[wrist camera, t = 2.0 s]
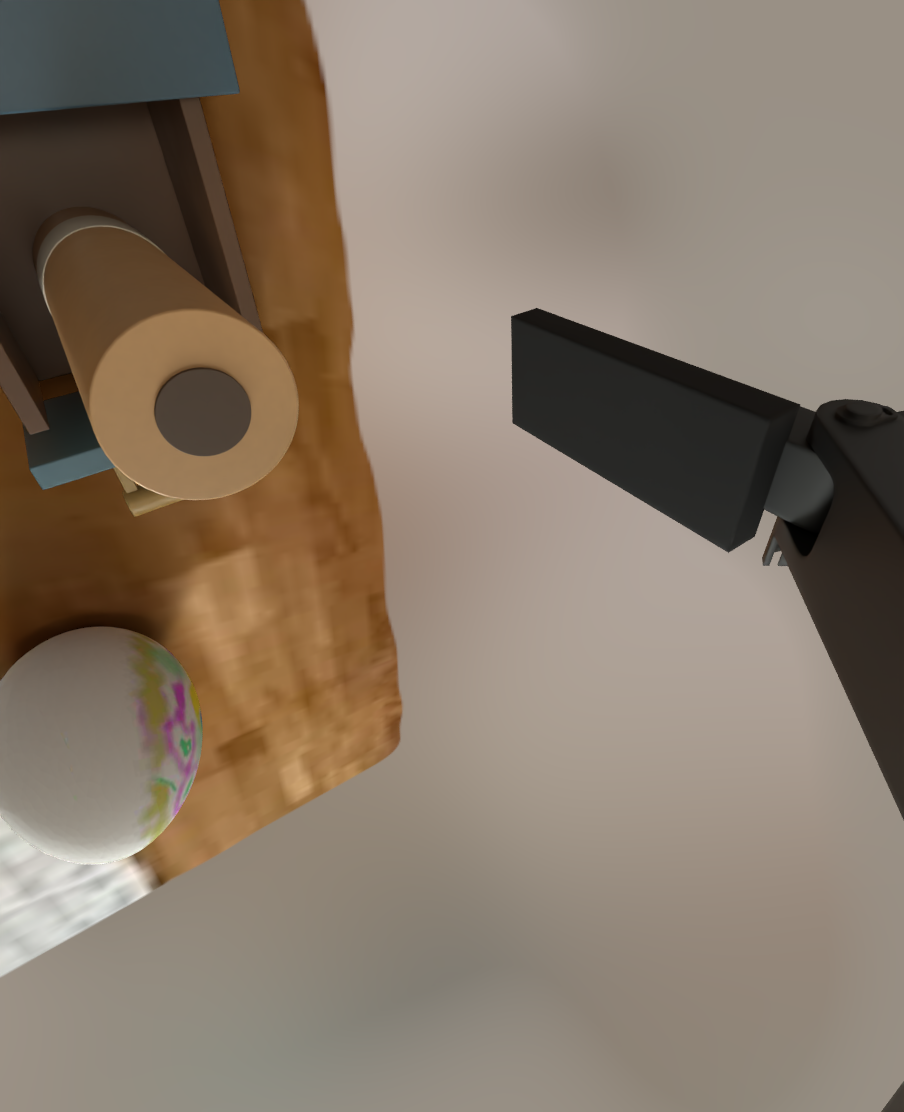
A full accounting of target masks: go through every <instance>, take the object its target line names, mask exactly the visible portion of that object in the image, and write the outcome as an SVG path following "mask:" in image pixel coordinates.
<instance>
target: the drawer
mask: <svg viewBox="0 0 904 1112" xmlns="http://www.w3.org/2000/svg"><path fill="white" fill-rule="evenodd" d="M71 207H91V208H96V209H100V210H103V211H106V212H108V213H111V214H113V215H115V216H116V217H118V218H120V219H122V220H123V221H124V222H126V223H127V224H128V225H130V226H131V227H132V228H134V229H136V230H137V231H138V232H140V233H141V234H143V235H144V236H145V237H146V238H148V239H149V240H150V241H151V242H153V243H154V244H155V245H156V246H157V247H159V248H160V249H161V250H162V251H163V252H164V253H165V254H166V255H167V256H168V257H169V258H171V259H172V260H173V261H174V262H175V263H177V264H178V265H179V266H180V267H182V268H183V269H184V270H185V271H187V272H188V273H189V274H190V275H192V276H193V277H194V278H195V279H197V280H198V281H199V282H200V283H201V284H203V285H204V286H205V287H206V288H208V289H209V290H210V291H211V292H213V293H214V294H215V295H216V296H218V297H219V298H220V299H221V300H223V301H224V302H225V303H226V304H228V305H229V306H230V307H231V308H232V309H234V310H235V311H236V312H237V313H239V314H240V315H241V316H242V317H244V318H245V319H246V320H247V321H249V322H250V323H251V324H252V325H254V326H255V327H256V328H257V329H258V330H260V331H261V332H262V333H263V331H262V327H261V323H260V320H259V316H258V312H257V309H256V305H255V301H254V297H253V294H252V290H251V286H250V283H249V279H248V275H247V272H246V268H245V264H244V261H243V257H242V253H241V250H240V246H239V242H238V239H237V235H236V231H235V228H234V224H233V220H232V217H231V213H230V209H229V205H228V202H227V198H226V194H225V191H224V187H223V183H222V180H221V176H220V172H219V169H218V165H217V161H216V158H215V154H214V150H213V147H212V143H211V139H210V136H209V132H208V128H207V125H206V121H205V117H204V114H203V110H202V106H201V102H200V99H199V97H195V98H184V99H173V100H162V101H150V102H139V103H128V104H117V105H105V106H94V107H83V108H72V109H61V110H49V111H38V112H27V113H16V114H4V115H0V386H1V388H2V389H3V391H4V393H5V394H6V396H7V398H8V399H9V401H10V403H11V404H12V406H13V408H14V409H15V411H16V413H17V414H18V416H19V417H20V419H21V421H22V423H23V429H24V436H25V443H26V449H27V456H28V463H29V469H30V471H31V473H32V474H33V476H34V477H35V479H36V480H37V482H38V484H39V485H40V487H41V488H42V489H43V490H45V489H48V488H51V487H55V486H58V485H61V484H64V483H67V482H70V481H73V480H77V479H80V478H83V477H86V476H89V475H92V474H96V473H99V472H102V471H105V470H108V469H111V468H114V470H115V472H116V474H117V476H118V478H119V480H120V482H121V484H122V486H123V488H124V491H122V494H123V497H124V499H125V501H126V503H127V505H128V507H129V509H130V511H131V513H132V514H133V516H134V517H136V516H139V515H142V514H144V513H147V512H150V511H153V510H156V509H159V508H161V507H164V506H167V505H170V504H173V503H176V502H178V501H181V500H184V499H178V498H172V497H168V496H165V495H161V494H158V493H155V492H153V491H151V490H148V489H146V488H144V487H142V486H140V485H139V486H136V484H135V482H134V481H132V480H131V479H129V478H128V477H127V476H125V475H124V474H123V473H122V472H121V471H120V470H119V469H118V468H117V467H115V466H114V465H113V463H112V462H111V461H110V460H109V458H108V457H107V456H106V455H105V453H104V451H103V450H102V448H101V446H100V445H99V443H98V441H97V438H96V436H95V434H94V431H93V429H92V426H91V423H90V420H89V418H88V415H87V412H86V409H85V406H84V404H83V401H82V398H81V395H80V393H79V391H78V392H75V393H71V394H67V395H63V396H59V397H56V398H52V399H48V400H44V401H43V397H42V393H41V388H40V384H39V381H42V380H46V379H50V378H54V377H58V376H62V375H66V374H70V373H72V370H71V367H70V365H69V362H68V359H67V356H66V354H65V351H64V348H63V345H62V342H61V340H60V337H59V334H58V331H57V329H56V326H55V323H54V320H53V317H52V315H51V313H50V312H49V309H48V307H47V305H46V302H45V299H44V296H43V294H42V291H41V288H40V284H39V281H38V276H37V273H36V270H35V266H34V262H33V243H34V239H35V236H36V233H37V231H38V229H39V228H40V226H41V225H42V223H43V222H44V221H45V220H46V219H47V218H48V217H50V216H51V215H52V214H54V213H56V212H58V211H60V210H63V209H66V208H71Z"/></svg>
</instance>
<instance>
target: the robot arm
mask: <svg viewBox="0 0 904 1112" xmlns="http://www.w3.org/2000/svg"><path fill="white" fill-rule="evenodd" d="M511 329H512V407H513V408H512V414H513V424H515V425H517V426H518V427H520V428H522V429H523V430H525V431H527V432H529V433H530V434H532V435H533V436H536V437H537V438H538V439H540V440H542V441H543V442H545V443H547V444H548V445H550V446H552V447H554V448H555V449H557V450H558V451H560V452H562V453H563V454H565V455H567V456H568V457H570V458H572V459H573V460H575V461H577V462H578V463H580V464H582V465H584V466H585V467H587V468H588V469H590V470H592V471H593V472H595V473H597V474H599V475H600V476H602V477H603V478H605V479H607V480H608V481H610V482H612V483H613V484H615V485H617V486H618V487H620V488H622V489H623V490H625V491H627V492H629V493H630V494H632V495H633V496H635V497H637V498H639V499H640V500H642V501H644V502H645V503H647V504H648V505H650V506H652V507H653V508H655V509H657V510H658V511H660V512H662V513H664V514H665V515H667V516H669V517H670V518H672V519H673V520H675V521H677V522H678V523H680V524H682V525H684V526H685V527H687V528H689V529H690V530H692V531H693V532H695V533H697V534H698V535H700V536H702V537H703V538H705V539H707V540H709V541H710V542H712V543H713V544H715V545H717V546H718V547H720V548H722V549H723V550H725V551H727V552H730V551H732V550H733V549H735V548H737V547H738V546H740V545H742V544H743V543H745V542H746V541H748V540H750V539H751V538H753V537H754V536H755V534H756V531H757V528H758V526H759V523H760V520H761V517H762V513H763V511H764V510H766V511H768V512H770V513H772V514H774V515H776V516H777V519H776V522H775V525H774V528H773V530H772V533H771V536H770V538H769V541H768V544H767V546H766V549H765V552H764V554H763V557H762V560H763V565H764V566H765V565H766V566H769V564H770V562H771V559H772V557H773V554H774V552H778V551H782V555H781V557H780V560H779V562H778V566H788V567H789V569H790V571H791V573H792V575H793V578H794V580H795V582H796V584H797V587H798V589H799V591H800V593H801V595H802V597H803V600H804V602H805V604H806V606H807V609H808V611H809V613H810V615H811V617H812V620H813V622H814V624H815V626H816V628H817V631H818V633H819V635H820V637H821V639H822V642H823V644H824V646H825V648H826V650H827V652H828V655H829V657H830V659H831V661H832V663H833V666H834V668H835V670H836V672H837V674H838V677H839V679H840V681H841V683H842V685H843V687H844V690H845V692H846V694H847V696H848V699H849V701H850V703H851V705H852V707H853V710H854V712H855V714H856V716H857V718H858V721H859V723H860V725H861V727H862V729H863V731H864V734H865V736H866V738H867V740H868V742H869V745H870V747H871V749H872V751H873V754H874V756H875V758H876V760H877V762H878V765H879V767H880V769H881V771H882V773H883V776H884V778H885V780H886V782H887V784H888V786H889V789H890V791H891V793H892V795H893V798H894V800H895V802H896V804H897V806H898V808H899V811H900V813H901V815H902V817H903V819H904V411H900V412H896V411H894V410H893V409H892V408H890V407H888V406H883V405H880V404H877V403H871V402H867V401H863V400H848V399H844V400H835V401H829V402H827V403H824V404H822V405H821V406H820V407H819V408H818V409H817V411H816V412H814V411H811V410H809V409H806V408H803V407H800V404H797V403H794V402H792V401H789V400H786V399H783V398H780V397H778V396H775V395H773V394H770V393H767V392H764V391H762V390H759V389H756V388H754V387H751V386H748V385H745V384H742V383H740V382H737V381H734V380H732V379H729V378H726V377H724V376H721V375H718V374H715V373H712V372H710V371H707V370H704V369H702V368H699V367H696V366H694V365H690V364H688V363H685V362H683V361H680V360H677V359H674V358H672V357H669V356H666V355H664V354H661V353H658V352H655V351H653V350H650V349H647V348H645V347H642V346H639V345H636V344H634V343H631V342H628V341H625V340H623V339H620V338H617V337H615V336H612V335H609V334H606V333H604V332H601V331H598V330H595V329H593V328H590V327H587V326H585V325H582V324H579V323H576V322H574V321H571V320H568V319H565V318H563V317H559V316H557V315H555V314H552V313H549V312H546V311H544V310H541V309H538V308H536V309H533V310H530V311H526V312H523V313H520V314H517V315H514V316H511ZM882 1112H904V1082H903V1083H902V1084H901V1086H900V1087H899V1088H898V1090H897V1091H896V1093H895V1094H894V1095H893V1097H892V1098H891V1099H890V1101H889V1102H888V1103H887V1105H886V1106H885V1107H884V1109H883V1110H882Z"/></svg>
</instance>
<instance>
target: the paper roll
mask: <svg viewBox="0 0 904 1112" xmlns="http://www.w3.org/2000/svg"><path fill="white" fill-rule="evenodd" d="M33 262H34V266H35V270H36V273H37V276H38V281H39V284H40V288H41V291H42V294H43V296H44V299H45V302H46V305H47V307H48V309H49V312H50V313H51V315H52V317H53V320H54V323H55V326H56V329H57V331H58V334H59V337H60V340H61V342H62V345H63V348H64V351H65V354H66V356H67V359H68V362H69V365H70V367H71V370H72V373H73V376H74V379H75V381H76V384H77V387H78V390H79V393H80V395H81V398H82V401H83V404H84V406H85V409H86V412H87V415H88V418H89V420H90V423H91V426H92V429H93V431H94V434H95V436H96V438H97V441H98V443H99V445H100V446H101V448H102V450H103V451H104V453H105V455H106V456H107V457H108V458H109V460H110V461H111V462H112V463H113V465H114V466H115V467H117V468H118V469H119V470H120V471H121V472H122V473H123V474H124V475H125V476H127V477H128V478H129V479H131V480H132V481H134V482H135V483H137V484H139V485H140V486H142V487H144V488H146V489H148V490H151V491H153V492H155V493H158V494H161V495H165V496H168V497H172V498H178V499H184V500H208V499H215V498H221V497H225V496H228V495H231V494H234V493H237V492H239V491H242V490H244V489H246V488H248V487H250V486H251V485H253V484H255V483H256V482H258V481H259V480H261V479H262V478H263V477H265V476H266V475H267V474H268V473H269V472H270V471H271V470H272V469H273V468H274V467H275V466H276V465H277V464H278V463H279V461H280V460H281V459H282V457H283V456H284V454H285V453H286V451H287V449H288V447H289V445H290V443H291V441H292V439H293V436H294V433H295V430H296V425H297V421H298V411H299V402H298V392H297V386H296V383H295V380H294V376H293V373H292V371H291V369H290V367H289V365H288V363H287V361H286V359H285V358H284V356H283V355H282V353H281V352H280V350H279V349H278V348H277V347H276V346H275V344H274V343H273V342H272V341H271V340H270V339H269V338H268V337H267V336H266V335H264V334H263V333H262V332H261V331H260V330H258V329H257V328H256V327H255V326H254V325H252V324H251V323H250V322H249V321H247V320H246V319H245V318H244V317H242V316H241V315H240V314H239V313H237V312H236V311H235V310H234V309H232V308H231V307H230V306H229V305H228V304H226V303H225V302H224V301H223V300H221V299H220V298H219V297H218V296H216V295H215V294H214V293H213V292H211V291H210V290H209V289H208V288H206V287H205V286H204V285H203V284H201V283H200V282H199V281H198V280H197V279H195V278H194V277H193V276H192V275H190V274H189V273H188V272H187V271H185V270H184V269H183V268H182V267H180V266H179V265H178V264H177V263H175V262H174V261H173V260H172V259H171V258H169V257H168V256H167V255H166V254H165V253H164V252H163V251H162V250H161V249H160V248H159V247H157V246H156V245H155V244H154V243H153V242H151V241H150V240H149V239H148V238H146V237H145V236H144V235H143V234H141V233H140V232H138V231H137V230H136V229H134V228H132V227H131V226H130V225H128V224H127V223H126V222H124V221H123V220H122V219H120V218H118V217H116V216H115V215H113V214H111V213H108V212H106V211H103V210H100V209H96V208H91V207H71V208H66V209H63V210H60V211H58V212H56V213H54V214H52V215H51V216H50V217H48V218H47V219H46V220H45V221H44V222H43V223H42V225H41V226H40V228H39V229H38V231H37V233H36V236H35V239H34V243H33Z"/></svg>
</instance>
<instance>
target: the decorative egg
mask: <svg viewBox="0 0 904 1112" xmlns="http://www.w3.org/2000/svg"><path fill="white" fill-rule="evenodd" d="M201 747H202V717H201V709H200V705H199V700H198V696H197V693H196V691H195V688H194V686H193V683H192V681H191V679H190V677H189V676H188V674H187V672H186V670H185V669H184V668H183V666H182V665H181V663H180V662H179V661H178V660H177V659H176V658H175V657H174V656H173V654H172V653H171V652H169V651H168V650H167V649H166V648H164V647H163V646H162V645H160V644H159V643H157V642H156V641H154V640H152V639H151V638H149V637H147V636H145V635H142V634H140V633H137V632H134V631H130V630H126V629H122V628H115V627H86V628H81V629H76V630H72V631H68V632H65V633H62V634H60V635H57V636H54V637H52V638H50V639H48V640H46V641H44V642H43V643H41V644H39V645H38V646H36V647H35V648H33V649H32V650H30V651H29V652H27V653H26V654H25V655H24V656H22V657H21V658H20V659H19V660H18V661H17V662H16V663H15V664H14V665H13V666H12V667H11V668H10V669H9V670H8V672H7V673H6V674H5V676H4V677H3V678H2V680H1V681H0V815H1V817H2V818H3V820H4V821H5V822H6V823H7V825H8V826H9V827H10V828H11V829H12V830H13V831H14V832H15V833H16V834H17V835H18V836H19V837H20V838H22V839H23V840H24V841H25V842H27V843H28V844H29V845H31V846H32V847H34V848H36V849H38V850H39V851H41V852H43V853H45V854H47V855H49V856H52V857H55V858H57V859H60V860H63V861H67V862H71V863H76V864H92V865H96V864H105V863H111V862H115V861H118V860H121V859H124V858H126V857H128V856H131V855H133V854H135V853H136V852H138V851H140V850H141V849H143V848H144V847H146V846H147V845H148V844H150V843H151V842H152V841H153V840H154V839H156V838H157V837H158V836H159V835H160V834H161V833H162V832H163V831H164V830H165V828H166V827H167V826H168V825H169V823H170V822H171V821H172V820H173V818H174V817H175V815H176V814H177V812H178V811H179V809H180V808H181V806H182V804H183V803H184V801H185V799H186V797H187V795H188V793H189V791H190V788H191V786H192V783H193V781H194V778H195V775H196V772H197V768H198V764H199V760H200V755H201Z"/></svg>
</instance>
